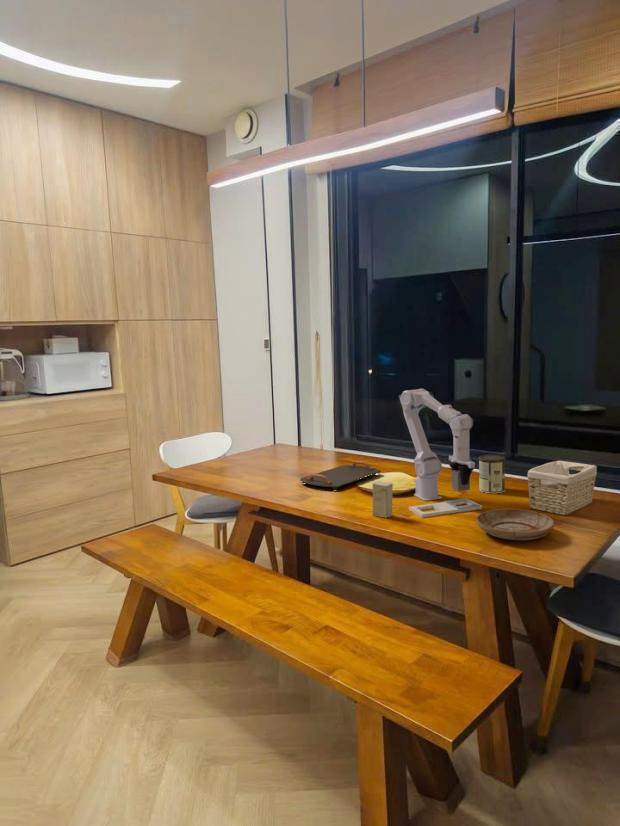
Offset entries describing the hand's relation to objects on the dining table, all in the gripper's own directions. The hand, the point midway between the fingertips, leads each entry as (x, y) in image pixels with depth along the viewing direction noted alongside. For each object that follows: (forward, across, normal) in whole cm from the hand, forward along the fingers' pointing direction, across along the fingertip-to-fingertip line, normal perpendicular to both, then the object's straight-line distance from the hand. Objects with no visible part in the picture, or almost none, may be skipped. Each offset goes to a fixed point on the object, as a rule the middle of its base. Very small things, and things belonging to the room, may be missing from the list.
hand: (461, 483), depth 210 cm
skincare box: (+10, -3, -31) cm, 33 cm away
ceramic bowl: (+10, +31, 0) cm, 32 cm away
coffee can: (+10, -14, +23) cm, 29 cm away
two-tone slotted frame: (+9, 0, -7) cm, 12 cm away
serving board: (+10, -58, -27) cm, 65 cm away
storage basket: (+10, +14, +34) cm, 38 cm away
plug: (+2, 0, 0) cm, 2 cm away
